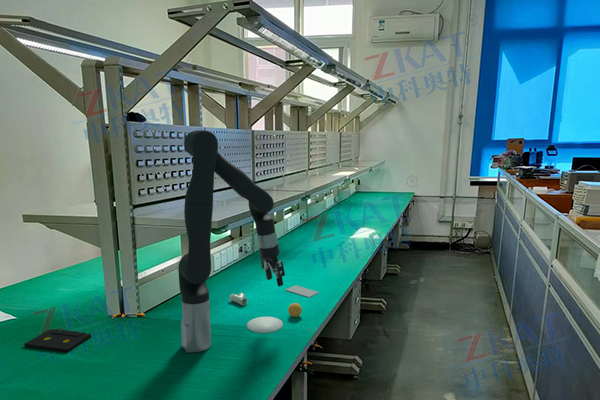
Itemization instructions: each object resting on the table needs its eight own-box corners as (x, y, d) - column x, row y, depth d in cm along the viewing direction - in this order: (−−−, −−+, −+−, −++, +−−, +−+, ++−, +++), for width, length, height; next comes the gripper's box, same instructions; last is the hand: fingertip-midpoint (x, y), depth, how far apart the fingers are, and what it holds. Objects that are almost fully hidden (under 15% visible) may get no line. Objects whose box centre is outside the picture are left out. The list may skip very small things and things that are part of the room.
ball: (292, 320, 165) (292, 307, 164) (285, 315, 169) (285, 302, 169) (304, 317, 168) (304, 304, 167) (297, 312, 172) (297, 299, 172)
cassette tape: (91, 338, 151) (91, 333, 150) (67, 354, 140) (67, 348, 139) (50, 333, 155) (50, 328, 154) (24, 348, 144) (23, 342, 143)
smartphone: (309, 297, 189) (284, 289, 198) (309, 299, 189) (284, 291, 198) (319, 292, 195) (295, 284, 204) (319, 294, 195) (295, 286, 204)
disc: (257, 336, 151) (257, 335, 151) (241, 322, 163) (241, 322, 163) (289, 327, 159) (289, 326, 159) (271, 314, 171) (271, 314, 170)
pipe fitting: (240, 299, 189) (229, 302, 184) (240, 290, 189) (229, 293, 183) (252, 303, 184) (241, 307, 179) (252, 295, 184) (241, 298, 178)
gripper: (251, 242, 160) (258, 280, 164) (268, 251, 148) (275, 291, 152) (267, 237, 164) (274, 274, 168) (286, 244, 152) (292, 284, 156)
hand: (275, 282), depth 160 cm, fingers open, 8 cm apart
